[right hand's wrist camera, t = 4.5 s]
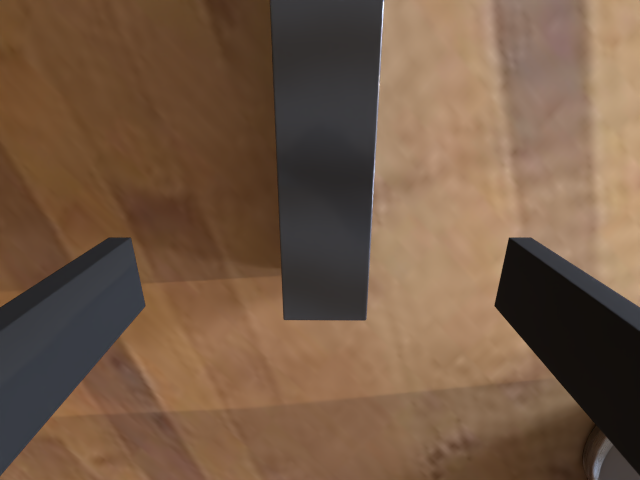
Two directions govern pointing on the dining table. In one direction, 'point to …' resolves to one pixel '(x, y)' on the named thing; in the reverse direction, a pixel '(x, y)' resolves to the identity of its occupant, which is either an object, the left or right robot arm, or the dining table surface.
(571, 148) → the dining table surface
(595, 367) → the right robot arm
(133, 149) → the dining table surface
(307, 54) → the rail
